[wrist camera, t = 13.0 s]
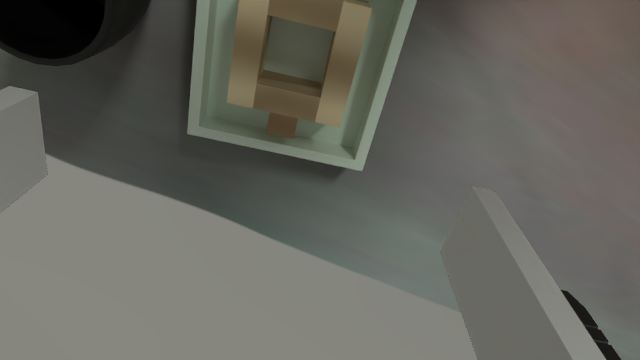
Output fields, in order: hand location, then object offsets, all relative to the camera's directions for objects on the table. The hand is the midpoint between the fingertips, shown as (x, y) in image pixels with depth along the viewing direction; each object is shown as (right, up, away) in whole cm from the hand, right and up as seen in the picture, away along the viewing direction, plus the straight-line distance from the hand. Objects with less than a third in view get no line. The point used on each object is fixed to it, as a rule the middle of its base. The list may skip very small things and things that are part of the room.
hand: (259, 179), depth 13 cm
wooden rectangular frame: (0, +10, +17) cm, 20 cm away
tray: (0, +9, +18) cm, 20 cm away
